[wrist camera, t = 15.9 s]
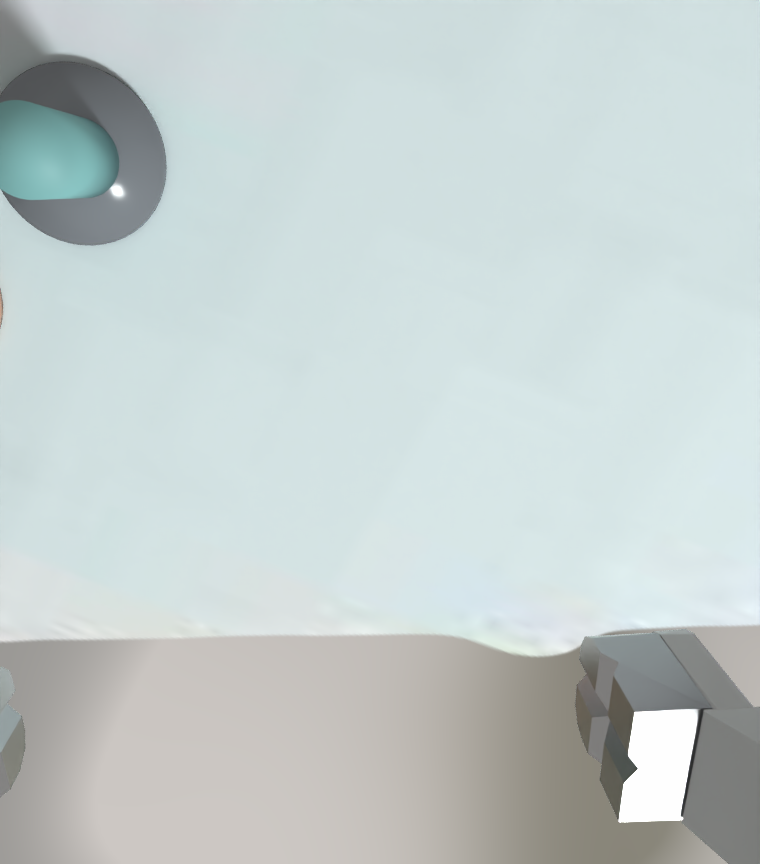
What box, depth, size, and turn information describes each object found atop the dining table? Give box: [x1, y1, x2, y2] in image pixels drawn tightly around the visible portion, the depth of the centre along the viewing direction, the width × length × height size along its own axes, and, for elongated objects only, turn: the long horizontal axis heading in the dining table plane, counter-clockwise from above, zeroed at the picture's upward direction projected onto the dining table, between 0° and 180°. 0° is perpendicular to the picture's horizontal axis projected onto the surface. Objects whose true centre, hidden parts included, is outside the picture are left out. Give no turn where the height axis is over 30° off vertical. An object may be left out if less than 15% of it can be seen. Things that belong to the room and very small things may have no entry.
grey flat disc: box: [0, 62, 166, 245], centre depth 36 cm, size 9×9×1 cm
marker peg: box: [0, 100, 119, 200], centre depth 33 cm, size 4×4×7 cm
